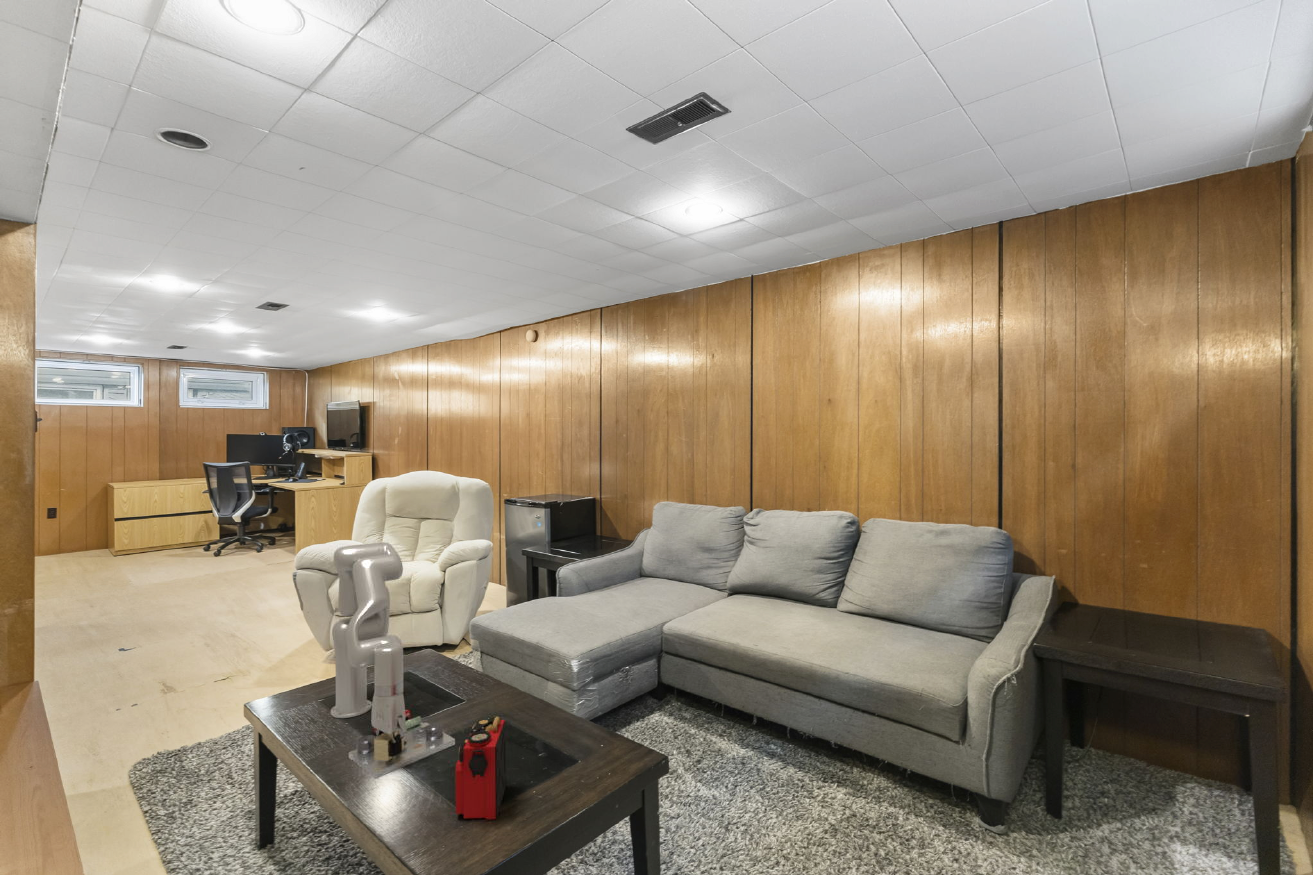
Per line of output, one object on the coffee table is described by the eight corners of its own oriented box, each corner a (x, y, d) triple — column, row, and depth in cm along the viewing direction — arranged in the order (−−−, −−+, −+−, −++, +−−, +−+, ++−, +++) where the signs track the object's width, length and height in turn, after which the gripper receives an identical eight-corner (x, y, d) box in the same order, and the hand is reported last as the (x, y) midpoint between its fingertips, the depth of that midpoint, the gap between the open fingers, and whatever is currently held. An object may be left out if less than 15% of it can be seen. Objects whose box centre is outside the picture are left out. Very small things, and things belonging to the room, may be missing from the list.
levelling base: (348, 757, 176) (348, 736, 176) (426, 727, 194) (426, 708, 194) (375, 778, 165) (375, 756, 165) (455, 744, 183) (454, 724, 183)
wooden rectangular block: (387, 764, 169) (387, 740, 169) (374, 762, 170) (374, 738, 170) (411, 745, 179) (411, 723, 179) (398, 744, 180) (398, 721, 180)
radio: (468, 787, 160) (468, 711, 161) (507, 785, 161) (507, 710, 161) (453, 824, 145) (453, 741, 145) (497, 822, 146) (496, 739, 146)
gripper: (359, 685, 174) (360, 748, 174) (394, 699, 165) (395, 766, 165) (383, 677, 181) (384, 738, 180) (419, 690, 171) (419, 754, 171)
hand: (389, 750), depth 173 cm, fingers closed on wooden rectangular block, 5 cm apart
